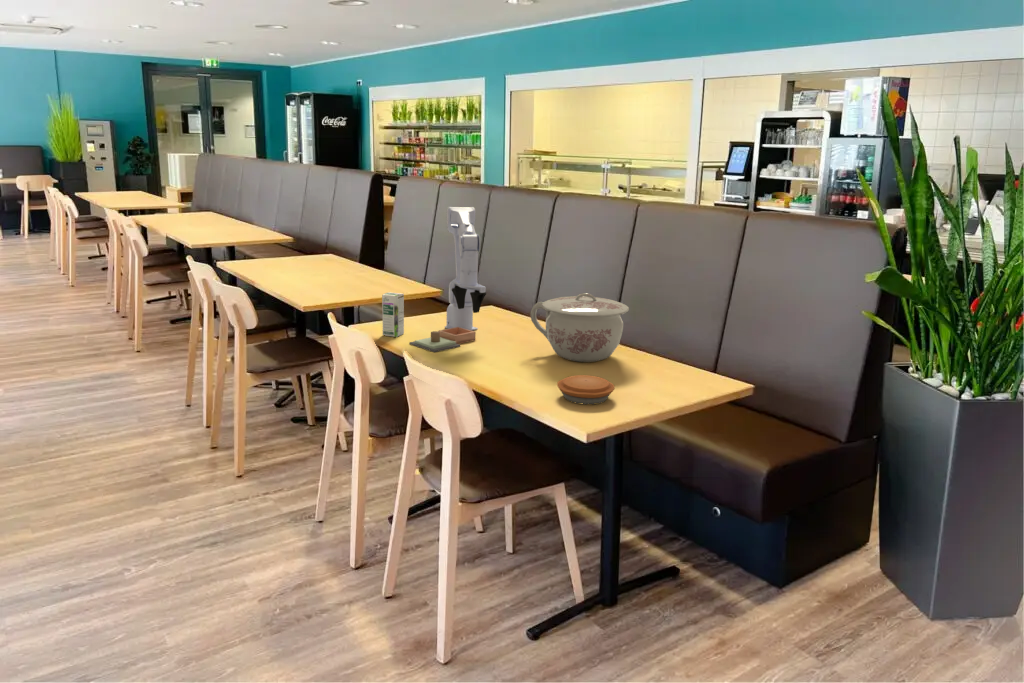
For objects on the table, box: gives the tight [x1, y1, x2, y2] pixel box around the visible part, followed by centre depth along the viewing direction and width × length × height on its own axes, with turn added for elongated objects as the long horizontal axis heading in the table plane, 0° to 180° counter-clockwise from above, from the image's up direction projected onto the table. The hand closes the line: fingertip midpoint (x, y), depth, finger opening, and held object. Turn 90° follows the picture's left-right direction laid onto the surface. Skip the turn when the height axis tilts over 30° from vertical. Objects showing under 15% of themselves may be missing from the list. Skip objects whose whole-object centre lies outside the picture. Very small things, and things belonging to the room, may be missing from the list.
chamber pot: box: [530, 292, 630, 363], centre depth 246 cm, size 28×28×21 cm
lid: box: [414, 330, 456, 349], centre depth 256 cm, size 10×10×4 cm
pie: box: [556, 374, 615, 405], centre depth 209 cm, size 15×16×5 cm
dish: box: [437, 327, 476, 345], centre depth 264 cm, size 9×9×3 cm
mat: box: [408, 340, 461, 353], centre depth 257 cm, size 13×11×1 cm
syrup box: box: [381, 291, 405, 338], centre depth 267 cm, size 6×6×14 cm
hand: (468, 310), depth 262 cm, fingers open, 7 cm apart
